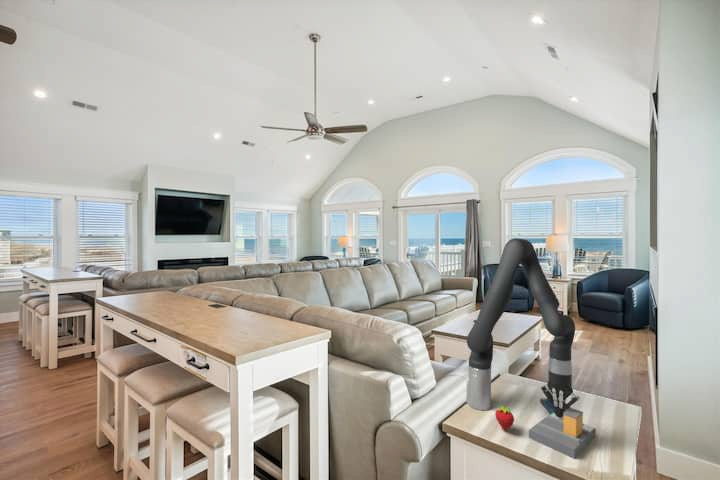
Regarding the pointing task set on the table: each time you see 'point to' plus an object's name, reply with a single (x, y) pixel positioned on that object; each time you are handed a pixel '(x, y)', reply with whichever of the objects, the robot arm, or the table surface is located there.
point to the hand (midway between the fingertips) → (559, 416)
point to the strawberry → (504, 418)
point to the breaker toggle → (573, 422)
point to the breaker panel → (561, 436)
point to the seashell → (549, 405)
